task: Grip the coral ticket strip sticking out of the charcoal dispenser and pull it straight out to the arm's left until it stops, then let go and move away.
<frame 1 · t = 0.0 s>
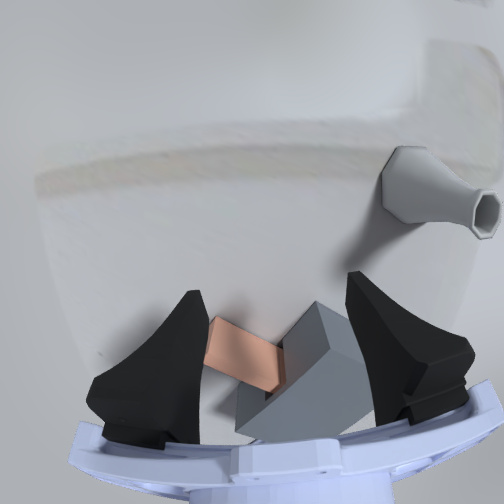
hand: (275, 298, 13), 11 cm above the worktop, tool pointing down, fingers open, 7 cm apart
ticket strip: (282, 372, 25), point 3 cm above the worktop, slide at 0.0 cm
flask: (413, 184, 21), on the worktop
dispenser: (310, 365, 29), on the worktop
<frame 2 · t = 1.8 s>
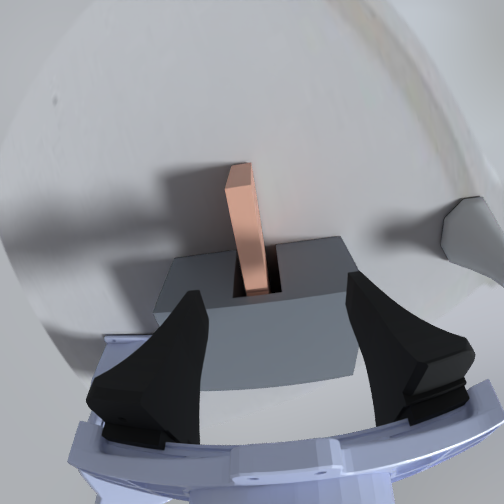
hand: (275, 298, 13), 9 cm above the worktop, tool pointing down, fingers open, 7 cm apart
ticket strip: (258, 278, 21), point 3 cm above the worktop, slide at 0.0 cm
flask: (464, 227, 22), on the worktop
dispenser: (264, 294, 25), on the worktop
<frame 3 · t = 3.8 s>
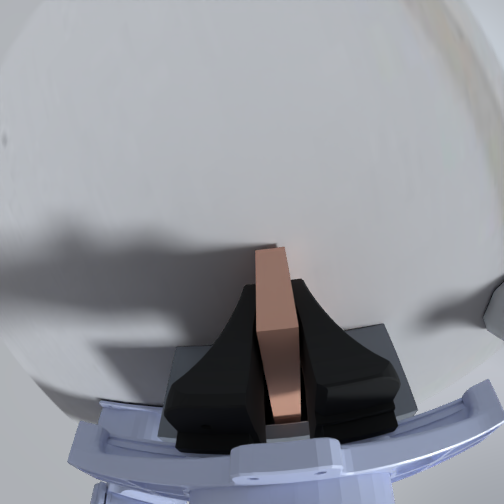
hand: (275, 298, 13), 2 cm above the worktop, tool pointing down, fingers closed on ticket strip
ticket strip: (284, 385, 15), point 3 cm above the worktop, slide at 0.0 cm, touching gripper
dispenser: (284, 380, 20), on the worktop
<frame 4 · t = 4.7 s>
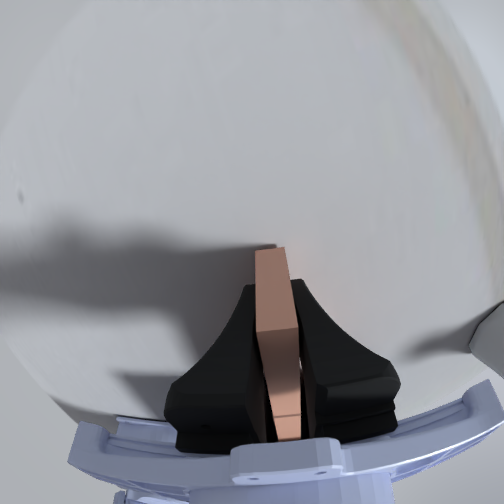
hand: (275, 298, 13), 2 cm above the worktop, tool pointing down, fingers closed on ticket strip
ticket strip: (284, 385, 15), point 3 cm above the worktop, slide at 3.7 cm, touching gripper
flask: (493, 324, 18), on the worktop
dispenser: (287, 401, 22), on the worktop
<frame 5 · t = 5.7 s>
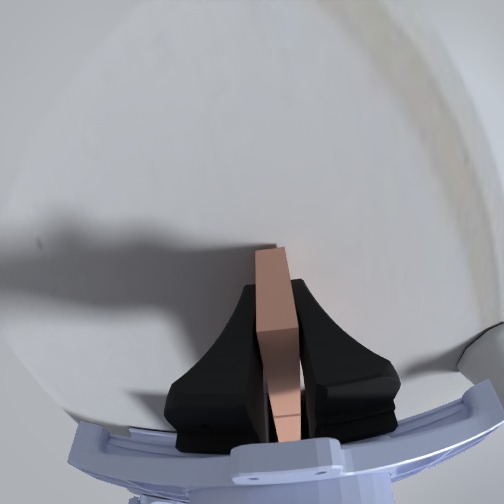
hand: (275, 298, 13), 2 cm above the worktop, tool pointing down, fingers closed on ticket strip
ticket strip: (284, 385, 15), point 3 cm above the worktop, slide at 7.0 cm, touching gripper
flask: (481, 346, 20), on the worktop
dispenser: (288, 415, 24), on the worktop
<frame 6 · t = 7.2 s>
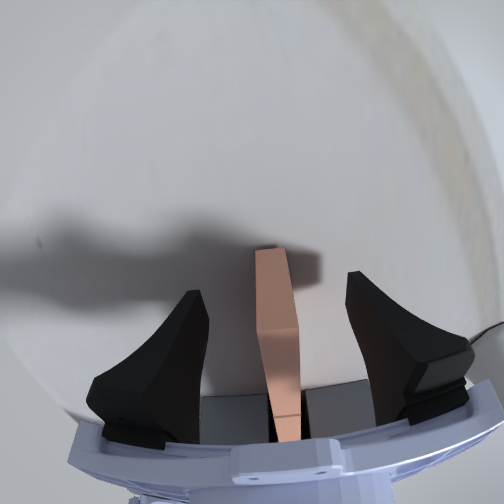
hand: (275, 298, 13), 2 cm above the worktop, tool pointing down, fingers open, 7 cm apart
ticket strip: (284, 385, 15), point 3 cm above the worktop, slide at 7.0 cm
flask: (481, 346, 20), on the worktop
dispenser: (288, 415, 24), on the worktop
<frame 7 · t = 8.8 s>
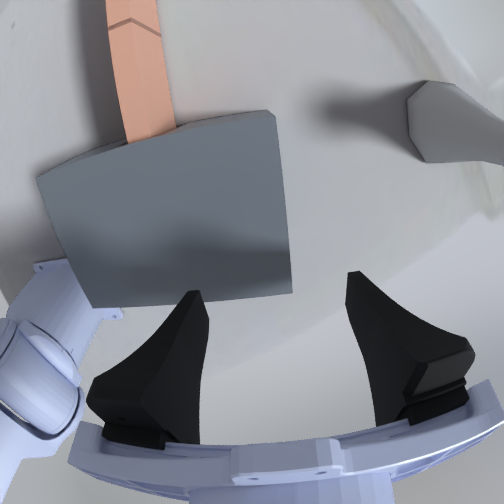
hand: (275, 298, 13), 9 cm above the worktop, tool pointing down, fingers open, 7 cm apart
ticket strip: (139, 45, 12), point 3 cm above the worktop, slide at 7.0 cm
flask: (438, 121, 17), on the worktop
dispenser: (182, 191, 20), on the worktop
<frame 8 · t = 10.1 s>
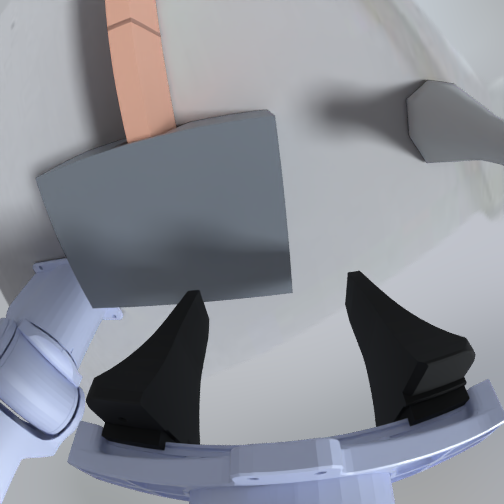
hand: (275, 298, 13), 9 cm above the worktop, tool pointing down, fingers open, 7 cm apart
ticket strip: (138, 45, 12), point 3 cm above the worktop, slide at 7.0 cm
flask: (438, 121, 17), on the worktop
dispenser: (182, 191, 20), on the worktop
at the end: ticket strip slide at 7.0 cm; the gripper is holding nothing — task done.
